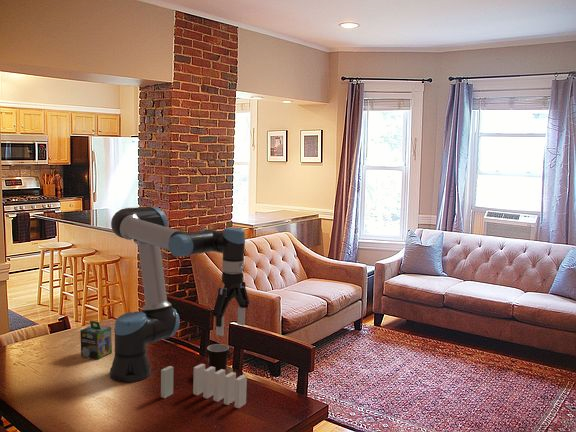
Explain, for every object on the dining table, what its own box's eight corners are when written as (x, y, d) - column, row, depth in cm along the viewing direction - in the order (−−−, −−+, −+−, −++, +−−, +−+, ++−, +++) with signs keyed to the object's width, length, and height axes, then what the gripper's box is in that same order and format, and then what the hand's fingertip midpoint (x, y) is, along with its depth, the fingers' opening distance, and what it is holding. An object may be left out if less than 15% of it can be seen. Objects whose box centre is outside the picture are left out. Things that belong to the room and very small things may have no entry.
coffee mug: (224, 377, 206) (225, 352, 205) (203, 375, 207) (203, 350, 206) (233, 366, 217) (234, 342, 216) (213, 364, 219) (214, 340, 218)
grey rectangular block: (234, 407, 182) (235, 379, 181) (241, 402, 185) (242, 374, 184) (238, 408, 181) (239, 380, 180) (246, 403, 185) (246, 375, 184)
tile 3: (203, 397, 188) (203, 370, 187) (210, 392, 192) (211, 366, 191) (207, 398, 187) (207, 371, 186) (214, 394, 191) (215, 367, 190)
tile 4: (213, 400, 186) (213, 373, 185) (220, 395, 190) (221, 369, 189) (217, 401, 185) (218, 374, 184) (224, 397, 189) (225, 370, 188)
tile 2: (193, 394, 190) (193, 367, 189) (200, 389, 194) (201, 363, 193) (197, 395, 189) (197, 368, 188) (204, 391, 193) (205, 364, 192)
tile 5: (223, 403, 184) (224, 376, 183) (231, 399, 188) (231, 371, 187) (228, 405, 183) (228, 377, 182) (235, 400, 187) (236, 372, 186)
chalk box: (112, 352, 227) (112, 319, 226) (97, 360, 219) (97, 325, 217) (95, 349, 231) (95, 316, 229) (79, 356, 222) (79, 322, 220)
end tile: (160, 397, 187) (161, 369, 186) (169, 392, 191) (169, 365, 190) (164, 398, 186) (165, 370, 185) (173, 393, 190) (173, 366, 189)
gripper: (221, 279, 175) (219, 342, 177) (259, 267, 197) (257, 322, 199) (202, 276, 178) (201, 337, 181) (242, 264, 200) (240, 319, 203)
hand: (230, 329), depth 190 cm, fingers open, 13 cm apart
